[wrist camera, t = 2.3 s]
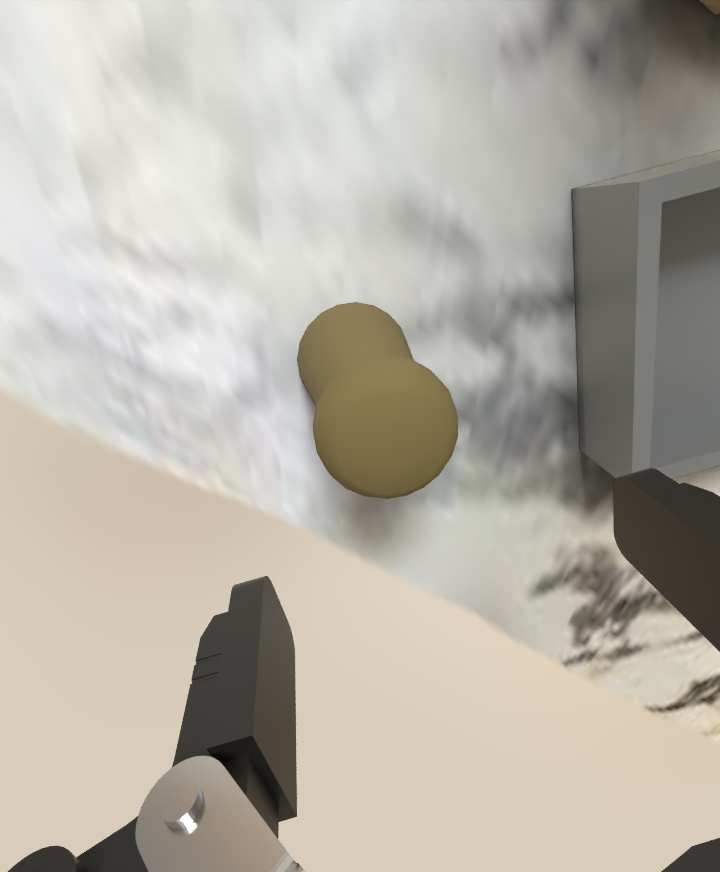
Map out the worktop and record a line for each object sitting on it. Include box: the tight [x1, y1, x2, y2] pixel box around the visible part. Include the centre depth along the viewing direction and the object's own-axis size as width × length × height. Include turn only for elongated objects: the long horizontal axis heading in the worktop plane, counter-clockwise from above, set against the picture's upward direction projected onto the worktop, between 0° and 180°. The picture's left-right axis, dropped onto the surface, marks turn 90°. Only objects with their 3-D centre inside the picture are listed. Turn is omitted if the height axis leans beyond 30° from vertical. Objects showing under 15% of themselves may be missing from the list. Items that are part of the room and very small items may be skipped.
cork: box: [297, 302, 458, 499], centre depth 20 cm, size 6×6×11 cm
